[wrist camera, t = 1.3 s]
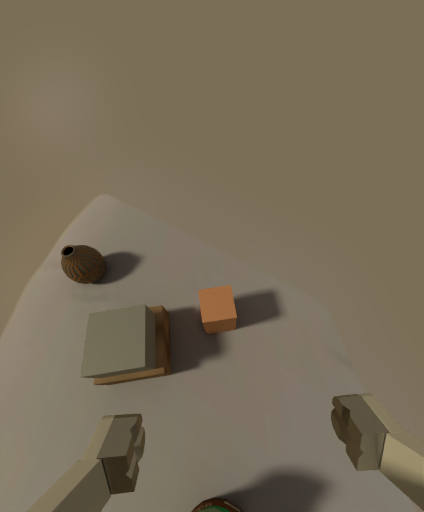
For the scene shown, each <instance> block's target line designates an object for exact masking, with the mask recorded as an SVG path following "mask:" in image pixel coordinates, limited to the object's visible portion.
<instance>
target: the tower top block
mask: <svg viewBox="0 0 424 512" xmlns="http://www.w3.org/2000/svg"><path fill="white" fill-rule="evenodd" d="M154 369H156V336H155V314H154V313H153V312H152V311H151V310H150V309H149V308H148V307H147V306H146V305H140V306H134V307H128V308H122V309H115V310H109V311H103V312H96V313H90V314H89V318H88V326H87V333H86V341H85V348H84V356H83V363H82V371H81V377H86V378H105V377H111V376H117V375H123V374H129V373H135V372H141V371H148V370H154Z"/></svg>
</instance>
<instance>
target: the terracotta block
mask: <svg viewBox="0 0 424 512" xmlns="http://www.w3.org/2000/svg"><path fill="white" fill-rule="evenodd" d="M199 299H200V307H201V316H202V323H203V326H204V328H205V331H206V333H207V334H210V333H217V332H223V331H230V330H235V329H236V322H237V315H236V310H235V304H234V299H233V294H232V289H231V285H228V286H222V287H215V288H209V289H202V290H199Z"/></svg>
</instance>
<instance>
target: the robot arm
mask: <svg viewBox="0 0 424 512" xmlns="http://www.w3.org/2000/svg"><path fill="white" fill-rule="evenodd" d="M332 404H333V406H334V407H335V408H334V409H333V410H332V411H331V421H332V425H333V428H334V431H335V433H336V435H337V437H338V438H339V439H340V440H341V441H342V442H343V443H345V444H346V453H347V454H348V456H349V458H350V460H351V462H352V463H353V465H354V467H355V469H356V470H357V471H363V470H380V472H381V473H382V474H383V475H385V476H386V477H387V478H388V479H389V480H390V481H391V482H392V483H393V484H394V485H396V486H397V487H398V488H399V489H400V490H401V491H402V492H403V493H404V494H406V495H407V496H408V497H409V498H410V499H411V500H412V501H413V502H414V503H415V504H417V505H418V506H419V507H420V508H421V509H422V510H423V511H424V441H423V440H422V439H420V438H418V437H417V436H415V435H413V434H412V433H410V432H409V431H403V429H402V428H401V427H400V426H399V425H398V424H397V423H396V421H395V420H394V419H393V418H392V417H391V415H390V414H389V413H388V412H387V411H386V410H385V408H384V407H383V406H382V405H381V404H380V403H379V402H378V400H377V399H376V398H375V397H374V396H373V395H372V394H370V393H366V394H352V395H342V396H334V397H333V399H332ZM141 424H142V415H141V414H124V415H110V416H104V417H103V418H102V419H101V420H100V422H99V424H98V427H97V429H96V431H95V433H94V435H93V438H92V440H91V442H90V444H89V446H88V448H87V451H86V453H85V455H84V457H83V459H82V460H81V461H77V462H76V463H75V464H74V465H73V466H72V467H71V468H70V469H69V470H68V471H67V472H66V473H65V474H64V475H63V476H62V477H61V478H60V479H59V480H58V481H57V482H56V483H55V484H54V485H53V486H52V487H51V488H50V489H49V490H48V491H47V492H46V493H45V494H44V495H43V496H42V497H41V498H40V499H39V500H38V501H37V502H36V503H35V504H34V505H33V506H32V507H31V508H30V509H29V510H28V511H27V512H101V510H102V509H103V507H104V506H105V504H106V503H107V501H108V500H109V498H110V497H111V495H112V494H120V493H128V492H134V490H135V486H136V482H137V478H138V473H139V466H138V462H139V460H140V459H141V458H142V456H143V452H144V446H145V430H144V428H143V427H142V426H141Z"/></svg>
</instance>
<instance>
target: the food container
mask: <svg viewBox="0 0 424 512" xmlns="http://www.w3.org/2000/svg"><path fill="white" fill-rule="evenodd" d="M192 512H242V511H241V510H240V508H239V507H238V506H236V505H234V504H233V503H231V502H230V501H228V500H226V499H220V498H212V499H208V500H205V501H203V502H201V503H200V504H199V505H198V506H196V507H195V508H194V509H193V511H192Z"/></svg>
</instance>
